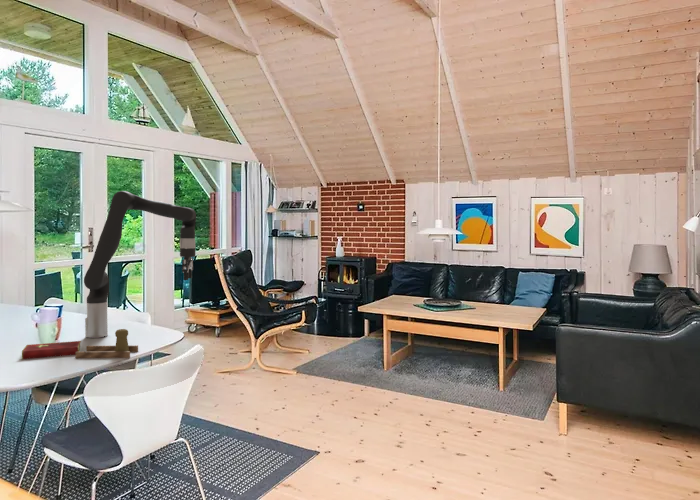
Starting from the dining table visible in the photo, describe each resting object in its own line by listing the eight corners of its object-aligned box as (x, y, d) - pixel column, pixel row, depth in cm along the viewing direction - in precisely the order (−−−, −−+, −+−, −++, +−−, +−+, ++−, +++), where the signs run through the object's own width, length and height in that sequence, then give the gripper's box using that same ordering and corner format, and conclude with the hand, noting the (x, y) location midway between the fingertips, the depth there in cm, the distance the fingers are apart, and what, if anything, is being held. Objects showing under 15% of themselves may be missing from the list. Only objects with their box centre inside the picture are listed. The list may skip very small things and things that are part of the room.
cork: (117, 352, 224) (117, 328, 223) (131, 352, 224) (131, 327, 223) (112, 356, 218) (111, 330, 217) (126, 356, 218) (126, 330, 217)
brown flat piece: (75, 358, 214) (75, 352, 214) (87, 351, 225) (87, 345, 225) (129, 357, 215) (129, 351, 215) (138, 350, 227) (138, 345, 227)
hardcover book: (78, 355, 219) (78, 346, 219) (21, 360, 211) (21, 350, 211) (81, 349, 230) (81, 340, 230) (27, 353, 222) (26, 344, 222)
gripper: (183, 246, 262) (183, 277, 263) (176, 247, 248) (176, 280, 249) (198, 246, 263) (198, 277, 264) (192, 248, 249) (192, 280, 250)
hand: (187, 279), depth 256 cm, fingers open, 8 cm apart
